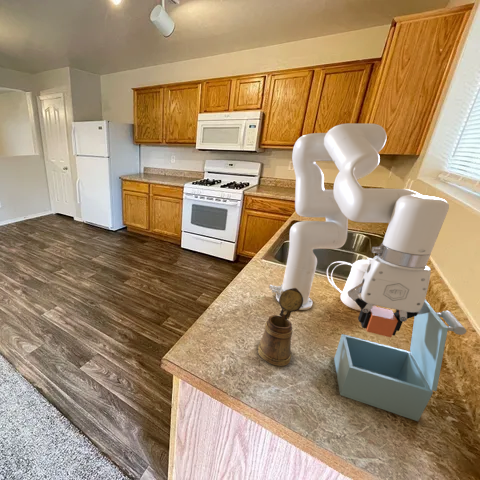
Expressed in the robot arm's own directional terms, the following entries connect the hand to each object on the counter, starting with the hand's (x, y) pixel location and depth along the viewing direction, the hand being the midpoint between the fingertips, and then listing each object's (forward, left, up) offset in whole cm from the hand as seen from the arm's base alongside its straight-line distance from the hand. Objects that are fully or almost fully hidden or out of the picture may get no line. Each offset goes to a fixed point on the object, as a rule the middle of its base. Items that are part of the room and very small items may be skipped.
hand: (376, 327), depth 61 cm
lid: (+9, 0, -1) cm, 9 cm away
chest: (+3, 0, -17) cm, 18 cm away
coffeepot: (+7, +41, -17) cm, 45 cm away
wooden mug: (-19, +3, -17) cm, 26 cm away
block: (0, 0, 0) cm, 0 cm away
